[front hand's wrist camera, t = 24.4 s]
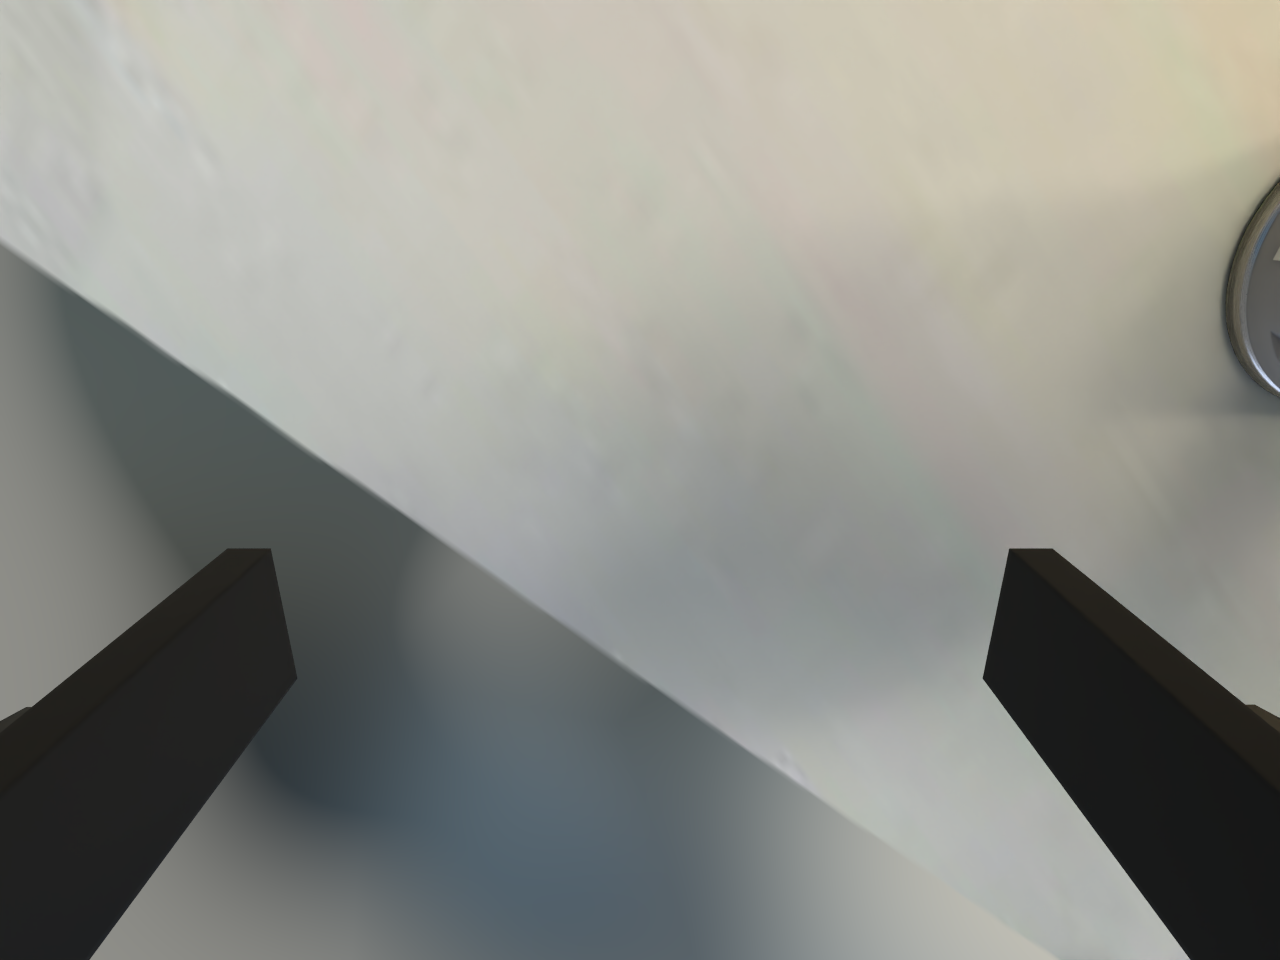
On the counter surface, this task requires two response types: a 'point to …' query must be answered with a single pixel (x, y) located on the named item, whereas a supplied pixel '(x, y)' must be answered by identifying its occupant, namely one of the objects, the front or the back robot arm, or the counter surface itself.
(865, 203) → the counter surface
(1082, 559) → the counter surface
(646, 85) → the counter surface
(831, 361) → the counter surface
